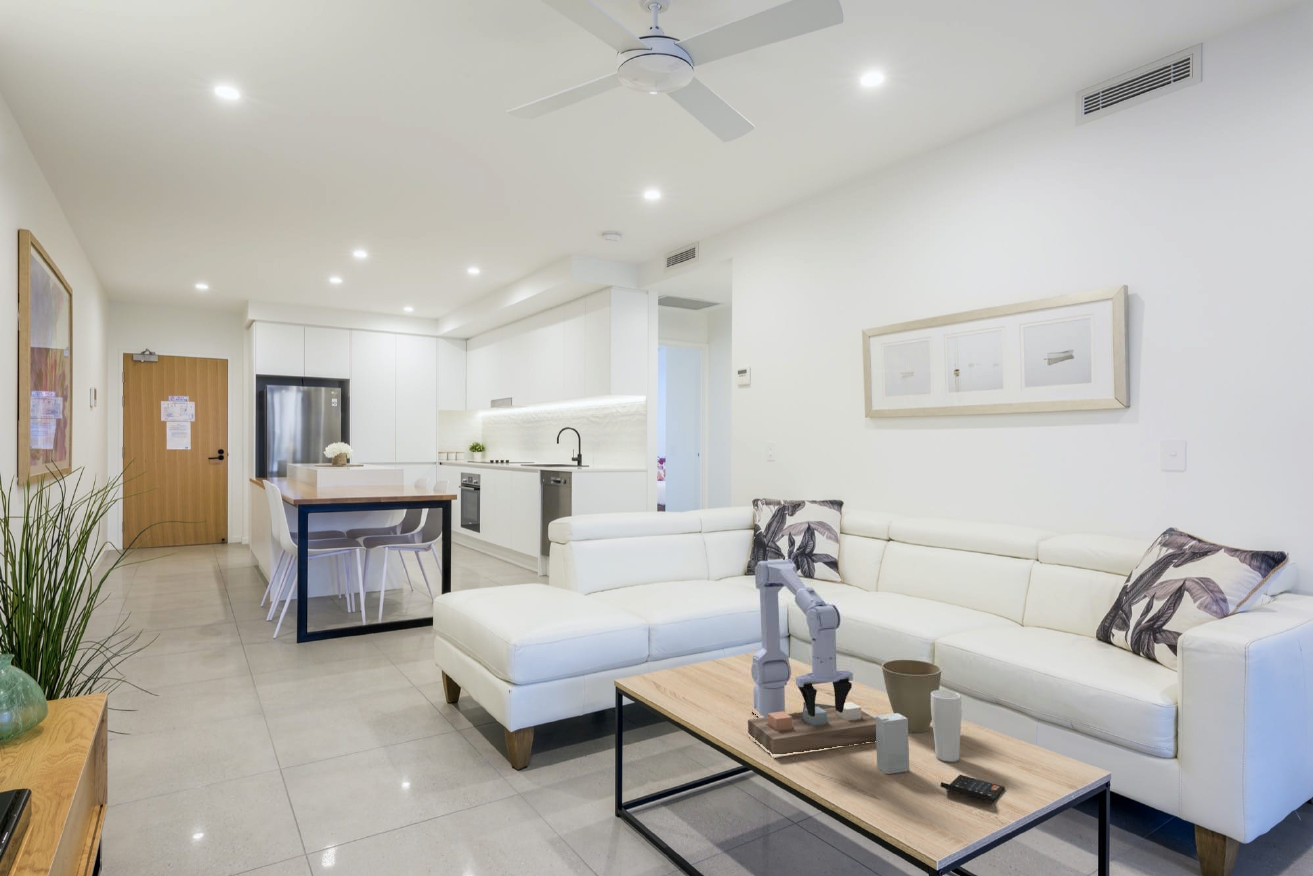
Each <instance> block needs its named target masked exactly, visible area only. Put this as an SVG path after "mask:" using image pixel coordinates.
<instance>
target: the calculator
mask: <svg viewBox="0 0 1313 876" xmlns="http://www.w3.org/2000/svg"><path fill="white" fill-rule="evenodd" d="M940 787H941V788H943V789H944V790H947V791H951V792H954V793H957V794H961V795H964V796H966V797H967V796H968V797H971V798H975V799H978V800H980V801H981V800H982V801H985V802H989V803H991V804H994V803H995V802H996V801H997V800H998V798H1000V796H1001V795H1002V794H1003V793H1004V791H1005V790H1006V786H1005V785H1004V786H1003V785H1000V784H996V783H992V782H988V781H985V780H982V779H979V778H974V777H970V776H967V775H963V774H959V775H958V776H957V777H955V779H953V780H952V781H951V782H950V783H945V782H942V781H941V782H940ZM1000 794H1001V795H1000Z"/></svg>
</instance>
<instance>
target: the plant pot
mask: <svg viewBox="0 0 1313 876" xmlns="http://www.w3.org/2000/svg"><path fill="white" fill-rule="evenodd" d="M881 669H882V674H883V681H884V685H885V689H886V694H887V698H888V700H889V703H890V706H891V710H892V712H893V713H892V714H894V713H898V714H900V715H902V716H904V717H906V718H907V719H908V733H914V732H916V733H925V732H927V731H928V730H929V729H930V727H931V723H932V715H931V692H932V691H935V690H940V684H941V677H942V676H941V675H942V668H941V666H939V665H938V664H935V663H933V662H929V661H925V660H917V659H893V660H892V659H891V660H887V661H886V662H882V664H881Z"/></svg>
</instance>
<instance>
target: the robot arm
mask: <svg viewBox="0 0 1313 876" xmlns="http://www.w3.org/2000/svg"><path fill="white" fill-rule="evenodd" d="M797 572H798V569H797V565H796V564H795V563H794V561H793V560H792V559H790V558H787V559H777V560H759V561H758V563H757V564H756V565H755V567H754V578H755V579H754V580H755V588H756V589H757V590H759V601H760V602H759V605H760V608H759V609H760V629H761V632H760V633H761V634H760V635H761V649H760V650H758V651H757V652H755V654H754V655H752V665H751V668H750V669H751V676H752V679H753V682H754V683H755V684H754V686H753V710H754V709H756V710H757V711H758V712H759V714H760V715H762V716H764V717H768V713H774V712H781V711H784V712H785V713H786V698H785V697H786V696H785V695H786V693H785V692H786V691H785V690H786V689H785V688H786V687H785V686H787V685H788V682H789V681H790V680H791V677H792V668H791V665H790V660H789V658H790V657H789V655H788V654H787V653H786V652H785V651H783V650H782V649H781V637H780V631H781V630H780V614H779V613H780V611H779V609H780V608H779V606H780V605H779V592H780V591H781V590H782V588H784V587H785V588H786V589H787V590H788V591H789V592H790V593H791V594H793V596H794V602H795V604H796V606H797V607H798V608H799V609H800V610H801V612H802V613H803V614H804V615H805V619H806V624H807V627H808V633H809V638H811V665H812V666H811V669H812V670H811V672H810V673H806V674H802V675H799V676H795V685H796V686H797V688H798V689H799V692H800V694H801V696H802V697H803V700H804V703H805V708H807V711H808V714H809V715H810V716H812V717H814V716H815V707H816V697H817V693H818V690H817V689H816V688H814V686H813V685H818V684H827V683H828V684H829V683H832V687H833V691H834V692H833V693H834V708H836V711H838V712H840V713H842V712H843V708H844V704H845V703H846V700H847V697H848V695H849V692H850V691H851V689H852V687H853V686H852V685H853V683H852V682H851V681H853V680H854V675H853V674H854V673H853V672H852V671H851V670H837V668H838V667H837V638H836V637H837V635H836V634H837V632H836V630H837V629H838V628H839V627H840V626H841V614H840V611H839V609H838V607H837V605H835V604H833V603H832V604H830V603H826V602H825V601H824V599H822V597H821V596H820V595H819V594H818V593H817V591H816V590H815V589H814V588H813V587H810V586H809V587H808V586H806V585H805V584H804V582H803V581H802V579H801V578H800V576H799V575H798V573H797Z"/></svg>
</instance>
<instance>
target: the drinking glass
mask: <svg viewBox="0 0 1313 876" xmlns="http://www.w3.org/2000/svg"><path fill="white" fill-rule="evenodd" d="M962 707H963V706H962V698H961V694H960V693H958V692H956V691H951V690H945V689H939V690H935V691H932V692H931V715H932V720H931V723H932V730H933V731H932V732H933V741H934V752H935V753H934V754H935V757H936V758H937V759H938V760H940V761H942V762H946V763H947V762H948V763H955V762H958V761H959V760H960V747H961V746H960V744H961V729H962V715H963V713H962V712H963V709H962Z"/></svg>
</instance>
